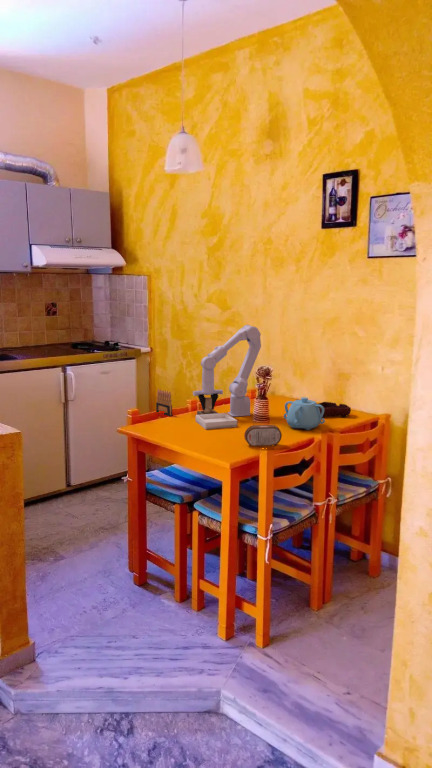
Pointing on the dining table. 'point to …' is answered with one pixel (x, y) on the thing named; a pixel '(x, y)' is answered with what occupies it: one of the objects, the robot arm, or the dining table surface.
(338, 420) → the dining table surface
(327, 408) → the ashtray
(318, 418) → the decorative pot
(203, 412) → the frame
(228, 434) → the dining table surface
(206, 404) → the dowel
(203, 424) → the tray
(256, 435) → the tin
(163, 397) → the ammunition clip
